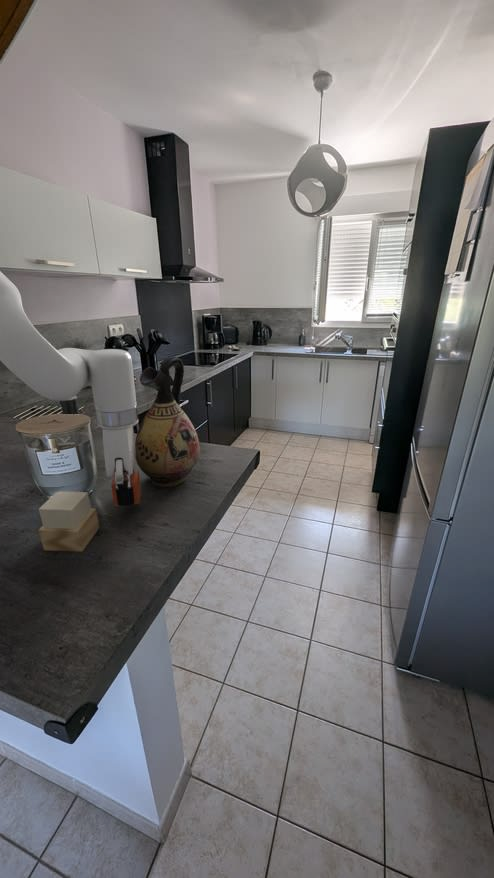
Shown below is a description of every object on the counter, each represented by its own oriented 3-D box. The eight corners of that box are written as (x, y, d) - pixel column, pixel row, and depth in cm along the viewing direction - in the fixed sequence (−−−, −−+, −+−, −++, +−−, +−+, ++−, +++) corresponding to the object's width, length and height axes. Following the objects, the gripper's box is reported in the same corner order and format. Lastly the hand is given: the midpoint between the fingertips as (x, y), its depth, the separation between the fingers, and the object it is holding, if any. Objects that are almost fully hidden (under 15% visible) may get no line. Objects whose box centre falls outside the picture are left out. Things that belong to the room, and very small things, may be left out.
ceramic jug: (174, 501, 80) (161, 367, 68) (125, 484, 87) (106, 360, 75) (216, 470, 93) (212, 354, 82) (171, 457, 100) (161, 350, 89)
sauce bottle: (71, 465, 96) (56, 394, 89) (96, 462, 98) (83, 392, 90) (68, 476, 90) (51, 401, 83) (94, 473, 92) (80, 399, 85)
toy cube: (114, 505, 73) (111, 484, 71) (117, 493, 77) (114, 472, 75) (139, 503, 74) (137, 482, 72) (141, 491, 78) (138, 471, 76)
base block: (43, 550, 65) (38, 530, 63) (64, 526, 71) (60, 507, 70) (82, 551, 64) (77, 531, 63) (99, 527, 71) (95, 508, 69)
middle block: (43, 528, 63) (38, 509, 62) (61, 509, 69) (57, 491, 67) (76, 529, 63) (71, 510, 62) (91, 510, 69) (87, 492, 67)
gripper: (104, 404, 75) (114, 479, 82) (87, 432, 60) (102, 522, 67) (140, 402, 77) (148, 476, 84) (134, 430, 61) (143, 518, 68)
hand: (127, 496), depth 75 cm, fingers closed on toy cube, 5 cm apart
